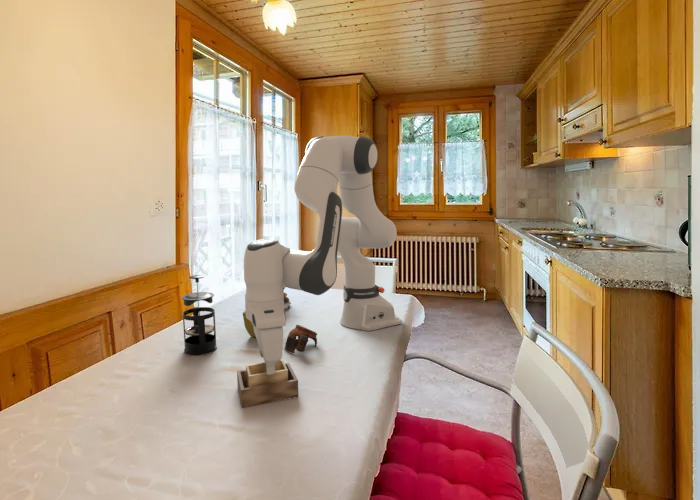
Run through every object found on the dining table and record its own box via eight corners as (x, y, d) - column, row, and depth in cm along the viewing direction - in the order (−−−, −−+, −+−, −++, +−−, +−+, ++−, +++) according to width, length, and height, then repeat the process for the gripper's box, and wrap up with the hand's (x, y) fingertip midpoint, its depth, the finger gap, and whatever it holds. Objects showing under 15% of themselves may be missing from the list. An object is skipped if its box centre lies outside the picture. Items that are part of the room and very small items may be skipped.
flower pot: (267, 341, 123) (267, 314, 122) (242, 338, 125) (241, 312, 124) (278, 331, 132) (277, 306, 130) (254, 329, 133) (253, 304, 132)
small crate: (283, 380, 96) (282, 359, 95) (288, 391, 91) (287, 369, 90) (246, 386, 93) (245, 365, 92) (249, 398, 87) (248, 376, 87)
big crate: (289, 378, 99) (288, 362, 98) (298, 397, 90) (298, 380, 89) (237, 386, 94) (237, 370, 93) (241, 407, 85) (241, 390, 84)
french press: (220, 352, 114) (216, 277, 111) (186, 359, 110) (181, 281, 106) (212, 339, 124) (209, 270, 121) (181, 344, 120) (177, 273, 116)
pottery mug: (280, 346, 120) (291, 321, 122) (308, 357, 122) (318, 333, 124) (284, 351, 109) (296, 324, 111) (314, 363, 111) (325, 336, 113)
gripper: (246, 298, 97) (248, 348, 100) (257, 324, 79) (259, 386, 81) (271, 295, 100) (272, 345, 102) (287, 321, 81) (288, 381, 83)
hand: (267, 364), depth 91 cm, fingers open, 8 cm apart
